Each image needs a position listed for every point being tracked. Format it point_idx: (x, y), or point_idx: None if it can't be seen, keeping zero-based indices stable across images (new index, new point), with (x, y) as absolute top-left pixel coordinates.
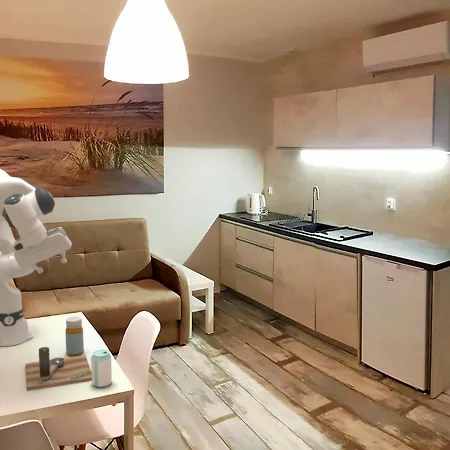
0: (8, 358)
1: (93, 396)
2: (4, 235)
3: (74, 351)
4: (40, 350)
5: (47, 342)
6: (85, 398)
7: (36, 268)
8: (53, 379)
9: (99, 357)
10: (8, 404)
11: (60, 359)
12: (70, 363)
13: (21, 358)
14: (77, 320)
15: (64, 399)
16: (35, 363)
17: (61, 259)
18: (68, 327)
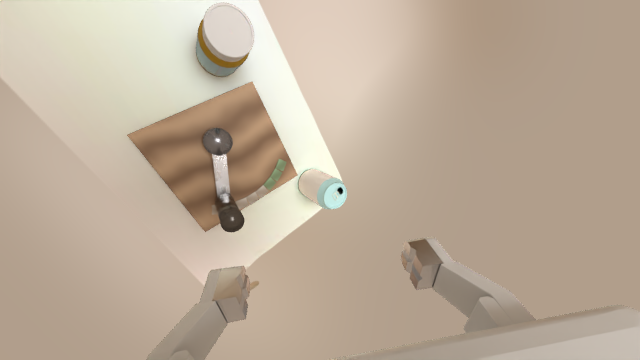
0: (26, 85)
1: (309, 216)
2: None
3: (226, 75)
4: (229, 231)
5: None
6: (301, 224)
7: (213, 343)
8: (237, 195)
9: (334, 207)
10: (199, 272)
11: (223, 137)
12: (238, 126)
13: (77, 85)
14: (246, 43)
15: (276, 234)
16: (156, 133)
17: (423, 280)
18: (218, 57)
